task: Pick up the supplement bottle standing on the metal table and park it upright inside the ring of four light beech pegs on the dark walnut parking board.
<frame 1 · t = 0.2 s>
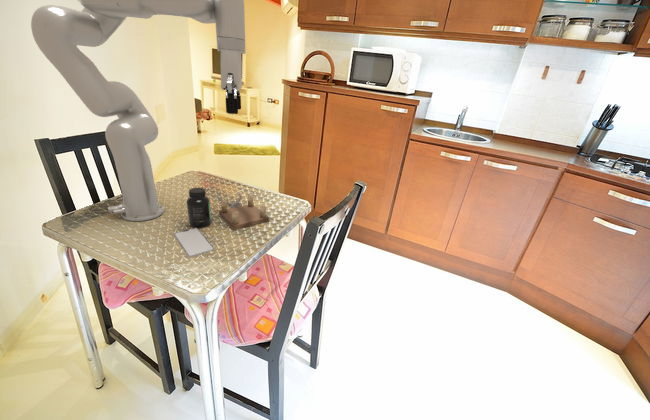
hand: (234, 111, 88), 36 cm above the table, tool pointing down, fingers open, 9 cm apart
supplement bottle: (200, 223, 98), on the table
pliers: (235, 203, 116), on the table
smartphone: (193, 243, 88), on the table
parking board: (243, 217, 104), on the table
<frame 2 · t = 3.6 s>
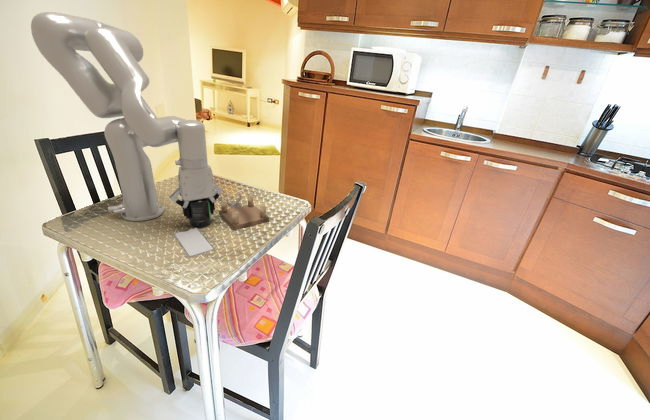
hand: (199, 214, 96), 3 cm above the table, tool pointing down, fingers closed on supplement bottle, 6 cm apart
supplement bottle: (200, 223, 98), on the table, touching gripper
everything else where it was.
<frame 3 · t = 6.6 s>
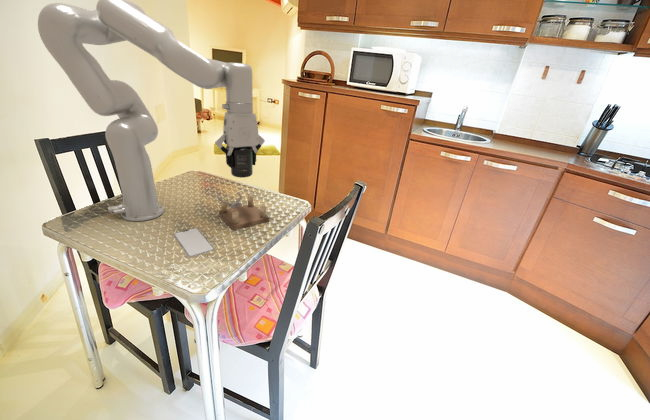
hand: (241, 164, 96), 20 cm above the table, tool pointing down, fingers closed on supplement bottle, 6 cm apart
supplement bottle: (242, 175, 97), point 16 cm above the table, touching gripper
everything else where it was.
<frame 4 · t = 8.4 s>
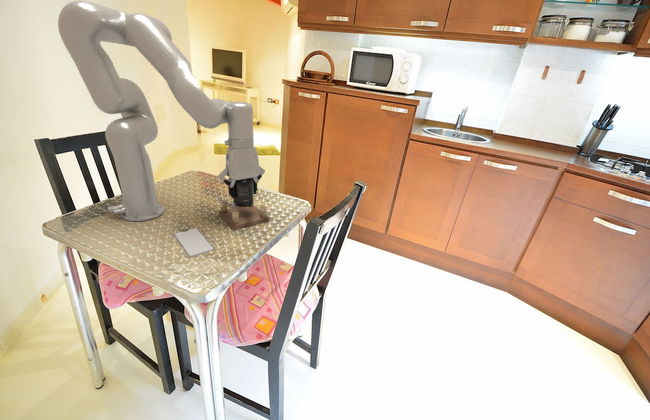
hand: (243, 194, 100), 9 cm above the table, tool pointing down, fingers closed on supplement bottle, 6 cm apart
supplement bottle: (243, 203, 102), point 6 cm above the table, touching gripper
everything else where it was.
when the fingers open (6 cm above the table, at t = 10.0 s): supplement bottle drops 1 cm, resting on parking board.
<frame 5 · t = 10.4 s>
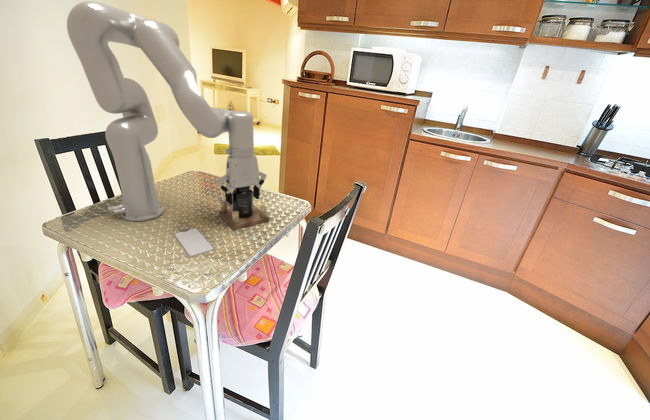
hand: (243, 200, 101), 7 cm above the table, tool pointing down, fingers open, 9 cm apart
supplement bottle: (243, 214, 103), point 1 cm above the table, touching parking board
everything else where it was.
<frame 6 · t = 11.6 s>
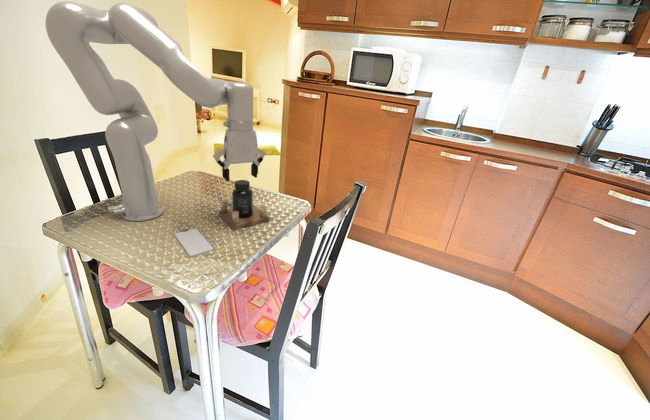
hand: (240, 177, 98), 15 cm above the table, tool pointing down, fingers open, 9 cm apart
nothing on the table moved.
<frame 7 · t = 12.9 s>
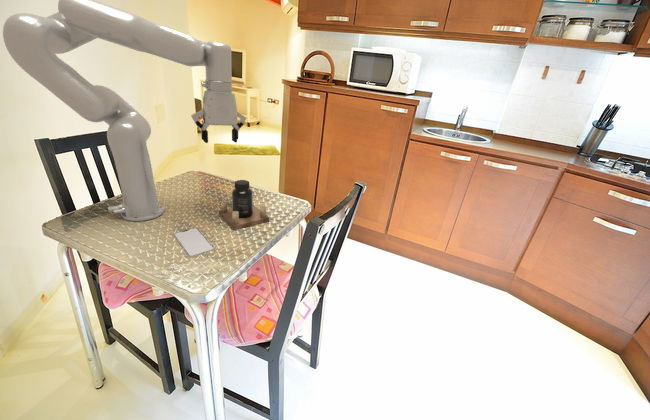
hand: (220, 141, 99), 25 cm above the table, tool pointing down, fingers open, 9 cm apart
nothing on the table moved.
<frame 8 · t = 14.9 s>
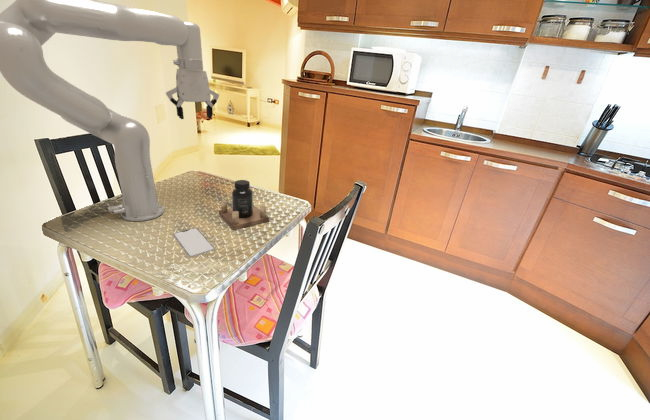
hand: (195, 118, 105), 30 cm above the table, tool pointing down, fingers open, 9 cm apart
nothing on the table moved.
at the end: supplement bottle 0.2 cm off-centre on the parking board, point 1.3 cm above the parking board's base; supplement bottle tilted 0°; the gripper is holding nothing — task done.
